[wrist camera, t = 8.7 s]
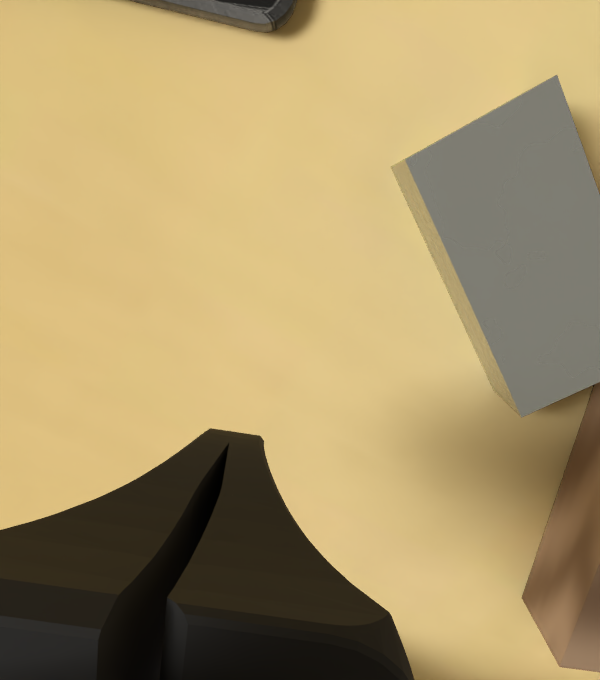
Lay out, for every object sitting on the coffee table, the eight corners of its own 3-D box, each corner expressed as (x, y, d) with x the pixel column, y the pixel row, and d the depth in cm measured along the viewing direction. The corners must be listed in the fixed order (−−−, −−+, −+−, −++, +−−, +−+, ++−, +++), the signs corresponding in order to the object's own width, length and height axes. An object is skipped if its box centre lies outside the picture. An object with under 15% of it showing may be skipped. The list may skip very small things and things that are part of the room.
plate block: (605, 333, 19) (657, 355, 16) (490, 387, 20) (521, 417, 17) (514, 97, 17) (556, 74, 14) (389, 167, 18) (404, 159, 15)
